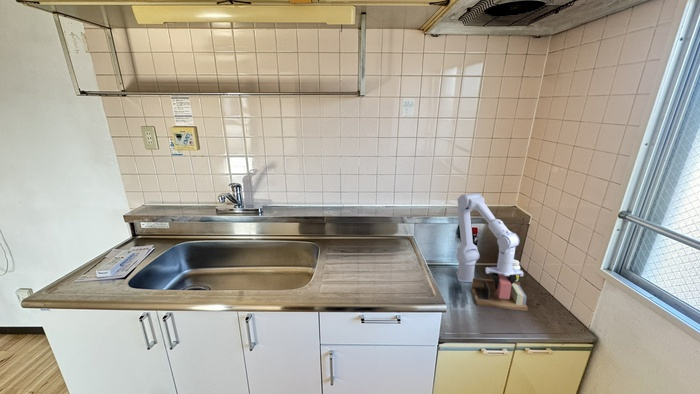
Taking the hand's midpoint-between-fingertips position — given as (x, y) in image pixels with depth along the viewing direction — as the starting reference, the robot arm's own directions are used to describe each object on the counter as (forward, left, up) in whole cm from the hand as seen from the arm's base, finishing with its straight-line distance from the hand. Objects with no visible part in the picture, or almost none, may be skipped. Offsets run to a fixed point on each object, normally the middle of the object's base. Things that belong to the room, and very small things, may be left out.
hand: (501, 288), depth 124 cm
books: (-1, +7, -5) cm, 9 cm away
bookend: (-1, -7, -5) cm, 9 cm away
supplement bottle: (-21, +11, -6) cm, 24 cm away
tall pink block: (0, 0, -2) cm, 2 cm away
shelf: (-1, -1, -6) cm, 6 cm away
